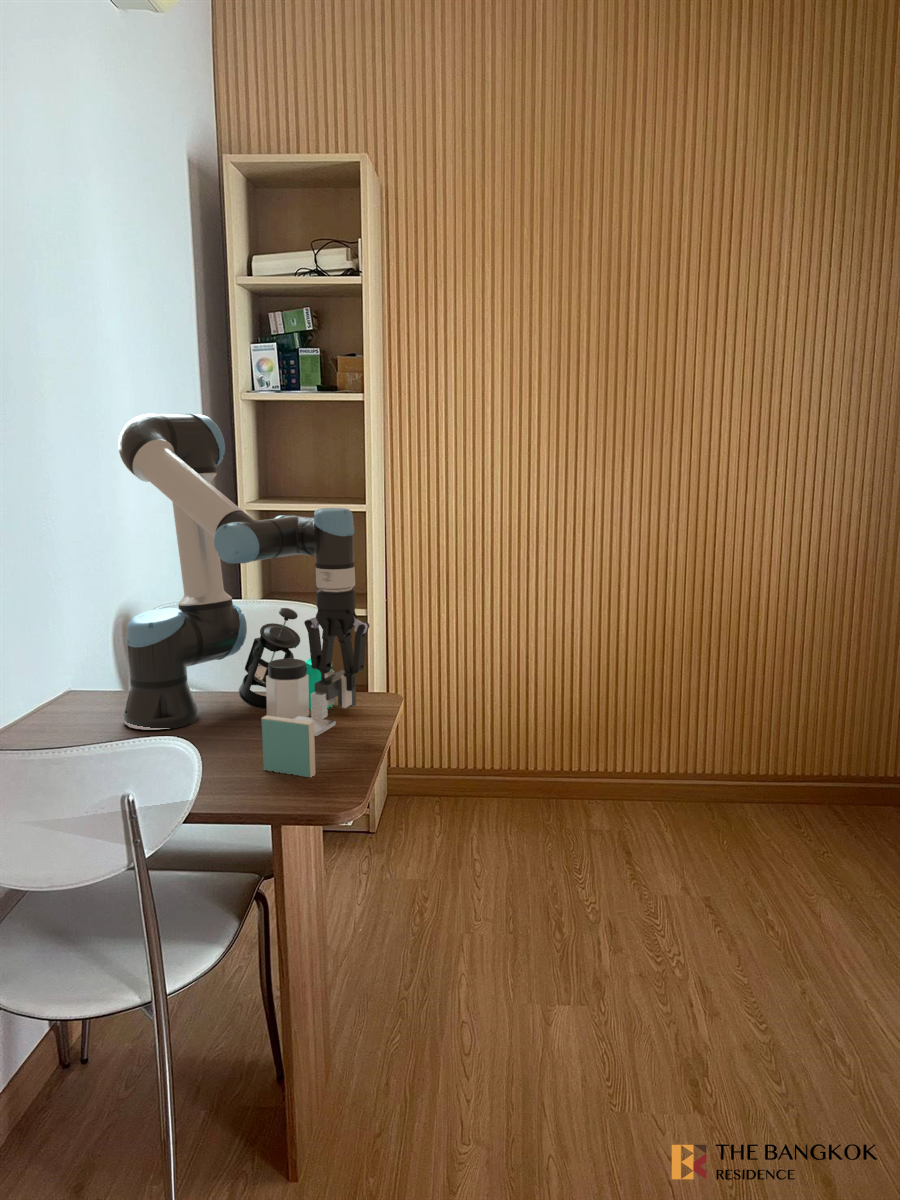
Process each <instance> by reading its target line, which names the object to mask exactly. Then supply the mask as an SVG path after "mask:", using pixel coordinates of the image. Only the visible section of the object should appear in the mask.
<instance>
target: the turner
mask: <svg viewBox="0 0 900 1200" xmlns="http://www.w3.org/2000/svg"><path fill="white" fill-rule="evenodd" d="M344 673H345V671H344V669H340V670H339V671H336V672H335V674H333V675H331V676H329V677H327V678H325V679H323V680H321V681H319V682H317V683H315V684H314V685H315V692H314V693H312V694H311V709H310V713H311V714H310V715H311V717H309V716H308V717H302V716H298V717H296V718H294V719H297V720H305V721H312V722H314V737H318V736H319V735H321V734H323V733H325V732H326V731H328V730H329V729H331V728H333V727H334V726H336V725H337V724H336V720H330V719H325V718H327V717H328V716H329V715H328V714H329V713H328V711H329V710H328V709H329V708H328V709H327V700H330V699H332V698H334V697H335V698H336V697H337V706H338V707H342V682H341V676H342V675H343V674H344ZM356 685H357V684H356V678H355V689H354V690H352V705H350V706H348V707H347V708H354V707H355V706H356V705H357V693H356V692H357V690H356Z"/></svg>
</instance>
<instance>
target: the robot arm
mask: <svg viewBox="0 0 900 1200" xmlns="http://www.w3.org/2000/svg"><path fill="white" fill-rule="evenodd" d="M119 434H120V435H119V438H118V453H119V456H120V459H121V461H122V463H123V464H124V466H125V467H126V468H127V470H128V471H129V472H130V473H131V474H133V475H134V476H135V477H136V478H137V479H138V480H139V481H141V482H145V483H147V482H149V483H151V484H152V485H153V486H154V487H156V488H157V490H159V491H160V492H161V493H162V494H163V495H164V496H165V497H167V498H168V499H169V500H170V501H171V502H172V508H173V518H174V525H175V533H176V541H177V547H178V556H179V563H180V564H179V566H180V570H181V571H180V572H181V578H182V580H181V581H182V587H183V597H182V598H181V599H180V600H179V602H178V604H177V605H178V608H174V607H164V608H163V607H162V608H159V609H151V610H150V609H149V610H147V611H143V612H139V613H138V614H136V615H135V616H133V617H132V618H130V620H129V621H128V623H127V625H126V641H125V642H126V645H127V655H128V670H129V681H130V682H129V683H130V684H129V686H130V688H129V692H128V696H127V700H126V705H125V709H124V710H123V711H124V712H123V721H124V720H125V721H126V722H127V723H130V724H133V725H137V726H143V727H150V728H174V729H179V728H182V727H186V726H188V725H191V724H193V723H195V722H196V721H197V720H198V719H199V713H198V706H197V704H196V703H195V700H194V698H193V694H192V692H191V691H192V690H191V688H190V685H189V682H188V667H191V666H192V667H193V666H195V665H198V664H203V663H208V662H211V661H212V662H213V661H216V660H218V661H220V660H223V659H225V658H227V657H230V656H233V655H235V654H236V653H238V652H239V650H241V647H243V646H244V643H245V641H246V638H247V633H248V632H247V631H248V630H247V629H248V626H247V619H246V617H245V614H244V613H242V609H241V608H240V607H239V606H237V605H236V604H233V603H234V602H233V597H232V596H231V595H230V594H229V593H227V592H226V591H225V588H224V581H223V580H224V579H223V572H222V564H221V560H222V561H223V562H224V563H227V564H248V563H250V562H258V561H263V560H268V559H276V558H283V557H289V556H290V557H291V556H295V555H296V556H297V555H298V556H299V555H303V556H311V557H314V561H315V585H316V587H317V588H318V589H317V590H316V594H315V595H316V598H315V599H316V608H317V612H316V613H315V614H316V615H315V616H314V617H312V618H308V619H306V620H304V623H303V624H304V626H305V628H306V631H307V636H308V644H309V652H310V653H309V654H310V658H311V664H312V668H313V669H318V670H319V671H320V672H321V680H323V679H325V678H327V677H329V676H331V675H333V674H335V673H336V672H335V670H333V668H334V667H333V666H332V667H331V664H332V665H333V654H334V647H335V639H336V637H337V641H338V642H339V645H340V646H339V647H340V652H341V658H342V665H343V670H344V671H345V673H344V674H343V675H342V676H341V682H342V706H341V708H342V709H347V708H349V707H348V706H350V705H352V690H354V689H355V679H356V674H358V673H360V672H362V671H364V670H365V657H366V644H367V642H366V641H367V633H368V630H369V629H370V624H369V622H363V621H361V620H360V619H358V616H357V613H356V590H355V589H354V587H355V586H356V574H355V573H356V572H355V569H356V568H355V533H356V530H355V526H354V525H355V524H354V515H353V512H352V511H351V510H350V509H349V508H343V507H342V508H341V507H324V508H318V509H315V511H314V513H313V514H314V515H313V517H311V516H300V515H295V514H287V515H286V514H284V515H277V516H275V517H273V518H271V519H270V518H268V519H260V520H259V519H257V520H256V519H253V517H251V516H250V515H249V514H247V512H245V511H244V510H242V509H241V508H240V507H239V506H238V505H237V504H235V503H234V502H233V501H232V500H230V499H229V497H227V496H226V495H225V494H224V493H222V492H221V491H219V490H218V488H216V487H215V486H214V485H212V481H213V480H214V479H215V477H216V476H217V467H218V466H219V465H221V463H222V462H223V459H224V457H223V456H225V453H226V444H225V439H224V435H223V433H222V431H221V428H220V427H219V426H218V425H217V423H216V422H214V421H213V419H212V418H210V417H209V416H207V415H203V414H195V413H194V414H193V413H157V414H156V413H146V414H141V415H138V416H135V417H134V418H132V419H130V420H129V421H128V422H127V423H126V424H125V425H124V426H123V428H122V429H121V432H120V433H119ZM353 627H354V632H355V634H354V645H353V643H352V642H353V641H352V638H353V637H352V636H353V634H352V630H353ZM320 628H321V629H322V635H321V632H320ZM321 639H322V641H321ZM353 647H354V648H353ZM331 669H332V671H330V670H331ZM335 703H336V697H334V698H332V699H330V700H327V706H330V705H332V704H333V705H334V704H335ZM178 727H179V728H178Z"/></svg>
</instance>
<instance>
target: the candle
mask: <svg viewBox="0 0 900 1200" xmlns="http://www.w3.org/2000/svg"><path fill="white" fill-rule="evenodd" d="M305 662H306V667H307V671H306V674H308V676H309V710H311V694H312V693H314V692H315V685H314V684H315V683H317V682H319V681H321V672H320V671H319V670H318V669H313V668H312V664H311V657H310V658H308V659H306V660H305ZM331 667H333V663H332V664H331ZM330 671H333V668H332V669H331V670H330ZM332 705H333V706H334V703H333V704H332ZM332 705H330V706H327V708H328V709H330V708H329V707H331V708H333V706H332Z"/></svg>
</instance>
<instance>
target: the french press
mask: <svg viewBox="0 0 900 1200" xmlns="http://www.w3.org/2000/svg"><path fill="white" fill-rule="evenodd" d="M278 614H279V615H280V616H281V617H282V618H283V620H284V622H283V624H280V623H271V622H270V623H265V624H264V625H262V626H261V627H260V629H259V633H260V637H256V638H254V639H253V643H252V646H251V648H250V651H249V654H248V657H247V660H246V663H245V667H244V670H245V671H246V673H247V674H246V675H244V677H243V680H242V682H241V684H240V686H239V688H238V695H239V697H240V699H241V700H242V701H243V702H244V703H246V704H247V705H249V706H251V707H253V708H256V709H260V710H261V709H262V710H267V702H266V695H262V694H258V693H256V692H254V691H252V690H251V687H252V686H259V687H263V688H265V689H266V676H267V675H268V663H269V662H271V661H274V658H275V655H276V652H281V651H282V652H283V653H284V657H283V659H295V657H294V654H293V651H291V650H290V649H296V648H297V647H299V645H300V644H301V637H300V635H299V634H298V632H297V631H296V630H294V629H292V628H291V627H289V626H287V624H286V623H287V621H289V620H297V619H298V616H299V615H298V613H297V612H296V611H295V610H293V609H292V608H288V607H281V608H279V610H278ZM265 649H267V650H268V651H270V652H273V653H272V655H271V659H270V661H269V662H268V661H266V660H264V659H263V658H262V656H263V653H264V650H265Z"/></svg>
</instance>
